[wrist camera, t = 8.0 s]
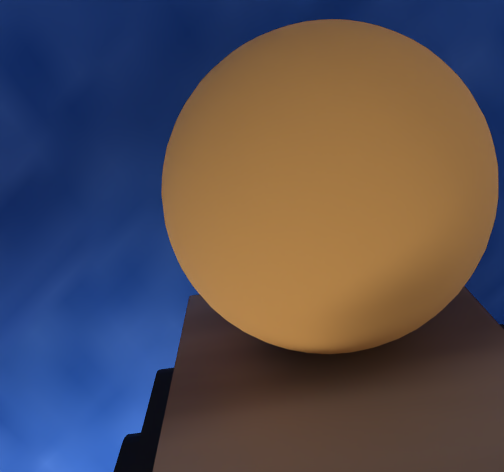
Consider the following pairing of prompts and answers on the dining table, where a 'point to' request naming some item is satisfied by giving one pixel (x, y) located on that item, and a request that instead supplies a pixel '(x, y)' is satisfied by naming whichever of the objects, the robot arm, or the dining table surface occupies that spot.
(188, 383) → the brown block
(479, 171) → the ball
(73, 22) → the dining table surface
